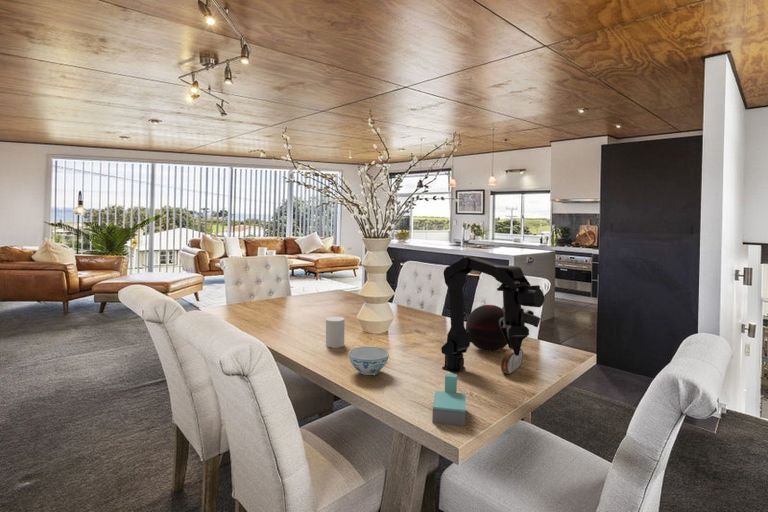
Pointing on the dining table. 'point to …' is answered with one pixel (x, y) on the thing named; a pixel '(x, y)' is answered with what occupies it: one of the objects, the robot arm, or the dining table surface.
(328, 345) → the gray cylinder
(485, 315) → the decorative orb
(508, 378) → the dining table surface
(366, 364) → the chinaware
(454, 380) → the teal stepped block
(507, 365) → the tin
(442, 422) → the grey box
